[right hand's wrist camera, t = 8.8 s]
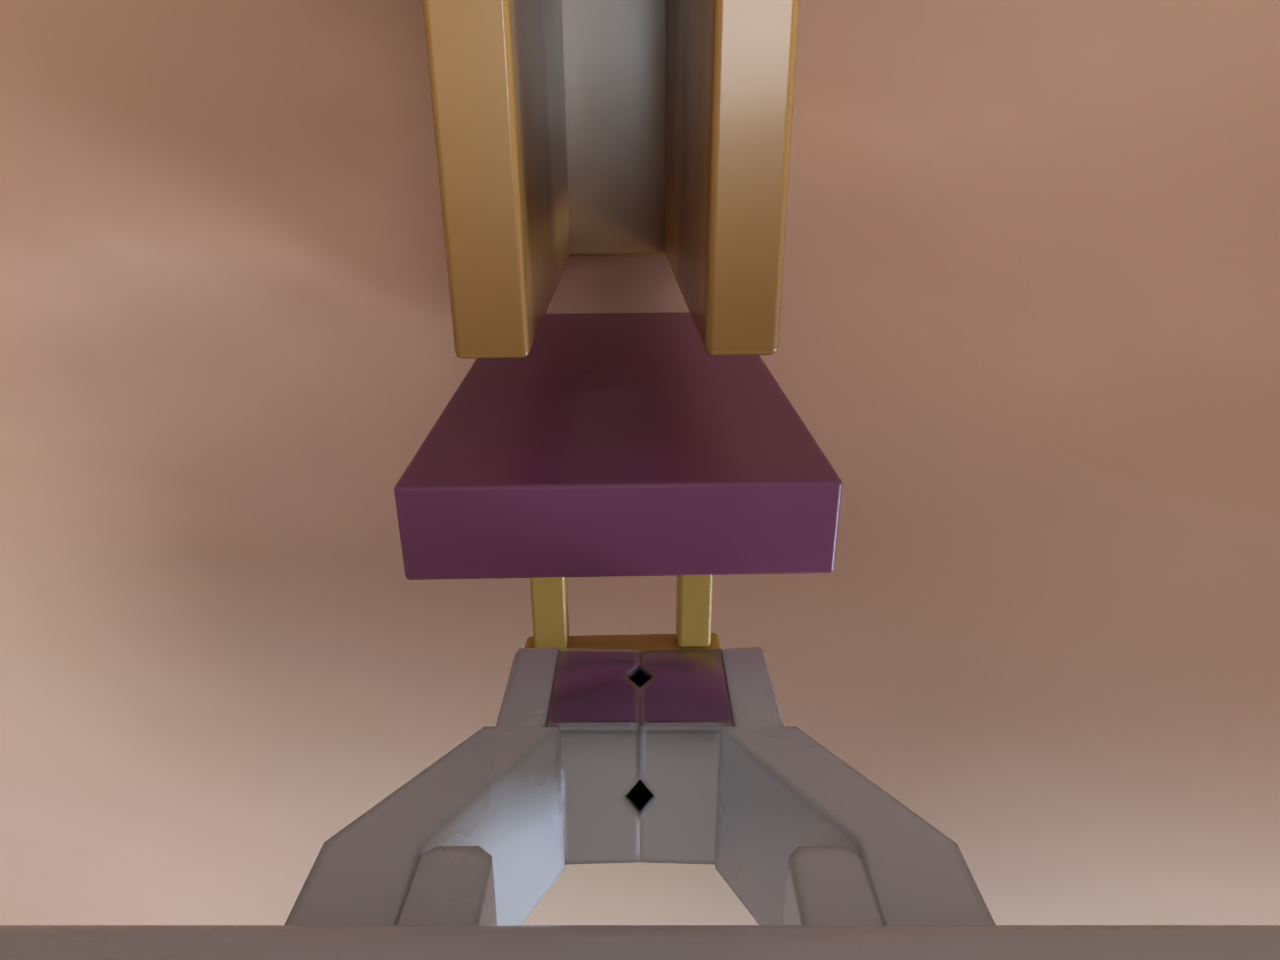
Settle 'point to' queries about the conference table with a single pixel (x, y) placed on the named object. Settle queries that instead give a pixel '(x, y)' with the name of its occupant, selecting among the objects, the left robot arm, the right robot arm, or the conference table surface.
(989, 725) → the conference table surface
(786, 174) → the drawer
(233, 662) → the conference table surface
